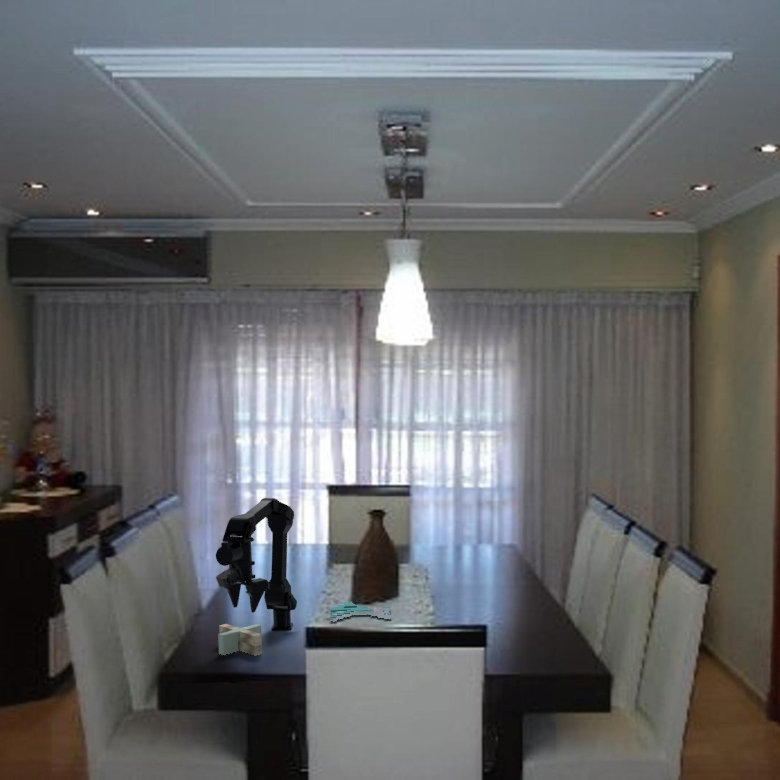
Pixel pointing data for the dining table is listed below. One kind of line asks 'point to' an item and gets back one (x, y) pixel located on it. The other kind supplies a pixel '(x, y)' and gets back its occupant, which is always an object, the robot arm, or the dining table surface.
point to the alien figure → (350, 607)
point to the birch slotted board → (246, 640)
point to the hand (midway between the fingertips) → (244, 609)
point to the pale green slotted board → (234, 639)
